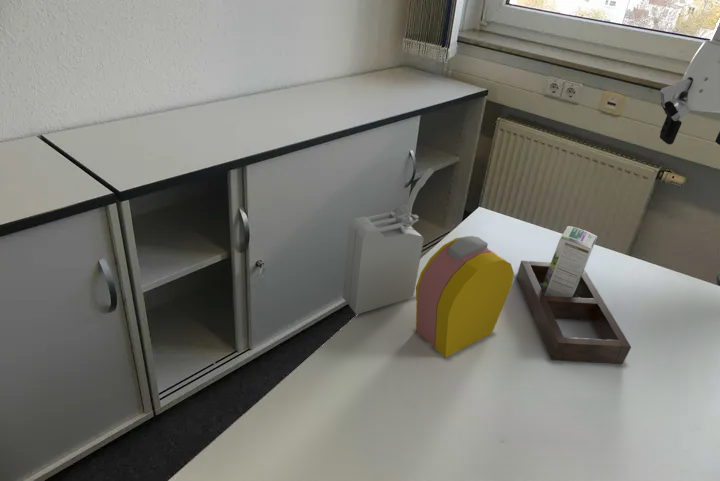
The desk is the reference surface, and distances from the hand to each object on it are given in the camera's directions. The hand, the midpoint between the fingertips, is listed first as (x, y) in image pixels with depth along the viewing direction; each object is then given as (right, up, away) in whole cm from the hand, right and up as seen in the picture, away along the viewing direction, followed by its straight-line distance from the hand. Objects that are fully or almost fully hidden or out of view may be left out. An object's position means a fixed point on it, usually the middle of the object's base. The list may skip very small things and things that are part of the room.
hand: (693, 143), depth 89 cm
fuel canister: (-51, -27, +12) cm, 59 cm away
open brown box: (-17, -30, +12) cm, 37 cm away
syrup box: (-17, -27, +17) cm, 36 cm away
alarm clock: (-39, -32, +6) cm, 51 cm away
